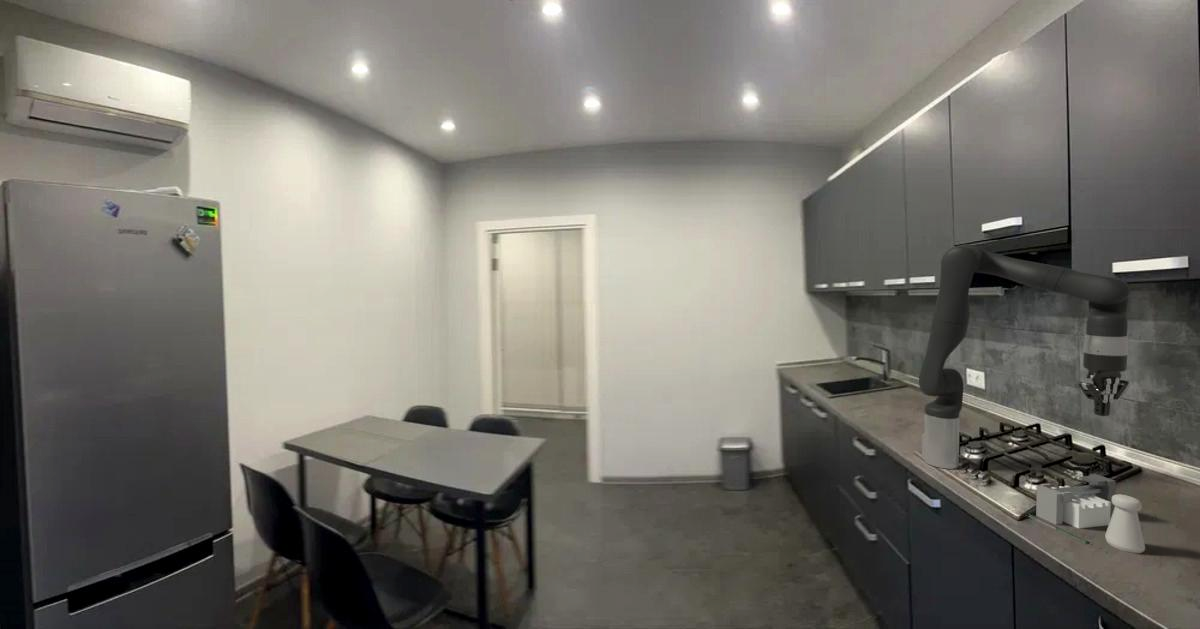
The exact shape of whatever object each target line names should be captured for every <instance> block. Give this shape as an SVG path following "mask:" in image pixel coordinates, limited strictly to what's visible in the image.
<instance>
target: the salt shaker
mask: <svg viewBox="0 0 1200 629" xmlns="http://www.w3.org/2000/svg"><path fill="white" fill-rule="evenodd" d="M1112 504H1113V505H1115V508H1114V511H1113V514H1112V517H1111V518H1110V523H1109V525H1107V529H1106V532H1105V534H1104V536H1105V541H1106V543H1108V544H1109V545H1110V546H1111V547H1113V548H1116V549H1118V550H1121V551H1124V552H1126V553H1132V554H1141V553H1143V552H1145V550H1146V546H1145V540H1144V537H1143V536H1144V535H1143V531H1142V527H1141V523H1140V519H1139V514H1138V513H1139V511H1141V510H1142V508H1143V507H1142V502H1141V500H1139V499H1137V498H1135V497H1132V496H1129V495H1127V494H1126V495H1125V494H1120V493H1119V494H1116V493H1115V495H1113V496H1112Z"/></svg>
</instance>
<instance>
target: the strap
mask: <svg viewBox="0 0 1200 629" xmlns="http://www.w3.org/2000/svg"><path fill="white" fill-rule="evenodd" d="M1064 487H1065V486H1064ZM1048 488H1050V487H1048ZM1050 489H1052V488H1050ZM1052 490H1055V491H1057V492H1060V493H1061V492H1068V491H1069V492H1072V496H1073V495H1083V494H1093V493H1102V489H1101V488H1098V487H1096V486H1093V485H1089V484H1087V485H1086V484H1085V485H1079V486H1078V485H1075V486H1070V487H1065V488H1059V487H1058V488H1057V487H1055V489H1052Z"/></svg>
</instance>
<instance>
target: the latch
mask: <svg viewBox="0 0 1200 629" xmlns="http://www.w3.org/2000/svg"><path fill="white" fill-rule="evenodd" d="M1082 481H1083V482H1087V483H1088V485H1093V486H1096V487H1098V488H1101V489H1102V493H1093V494H1091V495H1093V496H1096V497H1099V498H1101V499H1104V500H1106V501H1109V502H1111V507H1110V519H1111V517H1112V514H1113V511H1114V508H1115V505H1113V504H1112V496H1113V495H1116V491H1117V490H1116V488H1117V486H1116V485H1117V482H1116V481H1117V480H1114V479H1113V478H1108V477H1105V476H1103V475H1100V474H1097V473H1094V474H1088V475H1086V476H1085V475H1083V477H1082Z"/></svg>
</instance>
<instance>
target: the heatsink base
mask: <svg viewBox="0 0 1200 629" xmlns="http://www.w3.org/2000/svg"><path fill="white" fill-rule="evenodd" d="M1048 487H1050V488H1052V489H1055V488H1056V487H1054V486H1052V484H1051V483H1041V484H1040V485H1037V486H1036V506H1035V507H1036V509H1035V511H1036V512H1035V513H1036V514H1035V515H1033V514H1030V513H1029V512H1027V513H1028V514H1029V516H1028V517H1029V518H1031V519H1033V520H1035V521H1036V522H1039V523H1040V524H1043V525H1044V526H1047V527H1049V528H1052V529H1053V530H1056V531H1058V532H1060V533H1063V534H1065V535H1067V536H1068V537H1071V538H1073V539H1076V540H1077V541H1080V542H1082V543H1084V544H1085V545H1086V544H1091V542H1090V541H1088V540H1086V539H1084V538H1082V537H1080V536H1078V535H1075V534H1074V533H1071V532H1069V531H1067V530H1065V529H1062V528H1060V527H1059V526H1058V525H1063V523H1065V524H1068V525H1070V526H1072V527H1074V528H1076V529H1086V528H1094V527H1105V526H1109V523H1110V520H1111V518H1110V507H1111V502H1109V501H1106V500H1104V499H1101V498H1099V497H1096V496H1093V495H1091V494H1083V495H1073V496H1072V492H1069V491H1068V492H1061V493H1060V492H1057V491H1055V490H1052V489H1050V488H1048ZM1065 487H1071V486H1070V485H1064V486H1062V485H1060V486H1058V488H1065ZM1013 507H1015V508H1017V506H1014V505H1013V506H1012V508H1013ZM1047 521H1048V522H1047ZM1056 525H1057V526H1056Z"/></svg>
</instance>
